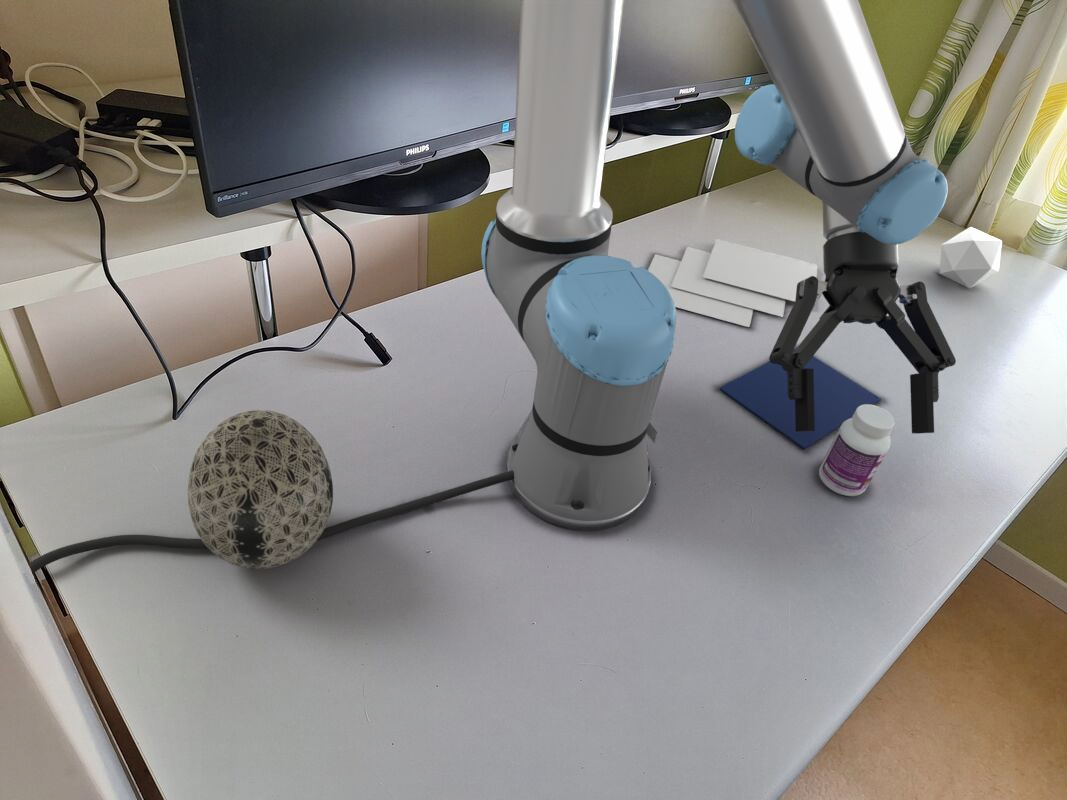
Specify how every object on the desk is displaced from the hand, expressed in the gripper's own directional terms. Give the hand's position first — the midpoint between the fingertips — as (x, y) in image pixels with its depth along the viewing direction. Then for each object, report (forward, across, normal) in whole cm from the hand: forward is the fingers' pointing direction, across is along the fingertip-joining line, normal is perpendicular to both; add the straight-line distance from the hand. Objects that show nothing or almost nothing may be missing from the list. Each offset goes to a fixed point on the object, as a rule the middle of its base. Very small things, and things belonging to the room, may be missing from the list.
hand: (864, 432), depth 81 cm
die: (-28, -41, -38) cm, 62 cm away
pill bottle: (+5, 0, -5) cm, 7 cm away
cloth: (-5, -1, -15) cm, 16 cm away
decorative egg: (+12, +60, +2) cm, 62 cm away
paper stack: (-24, 0, -34) cm, 42 cm away
